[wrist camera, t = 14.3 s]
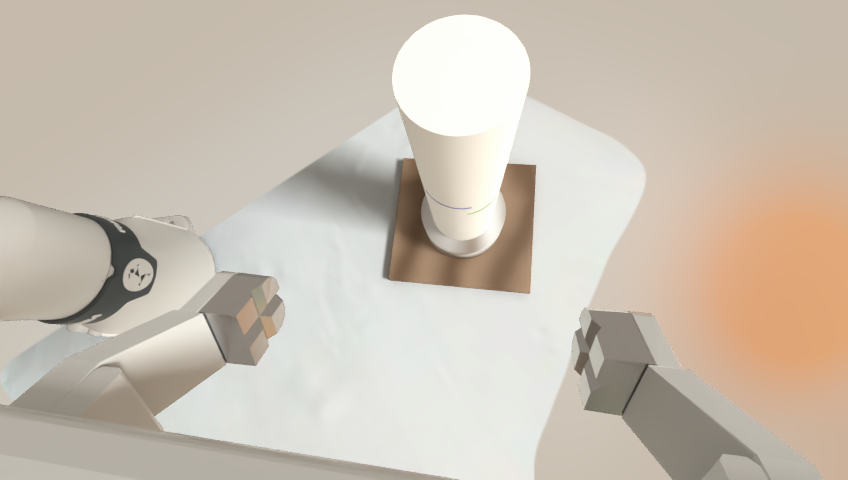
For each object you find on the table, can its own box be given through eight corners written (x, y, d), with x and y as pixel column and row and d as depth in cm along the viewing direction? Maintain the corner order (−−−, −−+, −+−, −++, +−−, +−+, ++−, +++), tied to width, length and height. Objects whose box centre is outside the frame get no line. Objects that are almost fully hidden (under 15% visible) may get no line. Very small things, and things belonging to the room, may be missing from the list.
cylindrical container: (433, 182, 44) (396, 17, 20) (492, 182, 44) (529, 11, 19) (431, 239, 43) (387, 137, 19) (492, 241, 42) (531, 135, 18)
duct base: (390, 280, 49) (380, 274, 43) (404, 161, 52) (397, 141, 46) (528, 293, 46) (537, 289, 40) (534, 168, 50) (543, 148, 44)
